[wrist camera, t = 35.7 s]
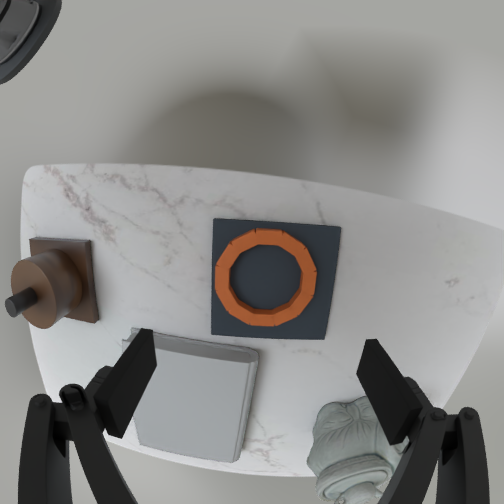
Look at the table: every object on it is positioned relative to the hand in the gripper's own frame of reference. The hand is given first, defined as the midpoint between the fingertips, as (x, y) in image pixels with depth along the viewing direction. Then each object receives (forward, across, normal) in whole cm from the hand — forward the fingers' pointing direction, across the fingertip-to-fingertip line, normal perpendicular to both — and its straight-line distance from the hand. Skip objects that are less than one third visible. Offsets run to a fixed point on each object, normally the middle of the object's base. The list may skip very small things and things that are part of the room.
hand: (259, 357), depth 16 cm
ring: (+18, +1, -1) cm, 18 cm away
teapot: (+18, +19, -26) cm, 37 cm away
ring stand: (+19, -29, -4) cm, 35 cm away
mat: (+19, +2, -2) cm, 19 cm away
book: (+19, -9, -23) cm, 31 cm away
